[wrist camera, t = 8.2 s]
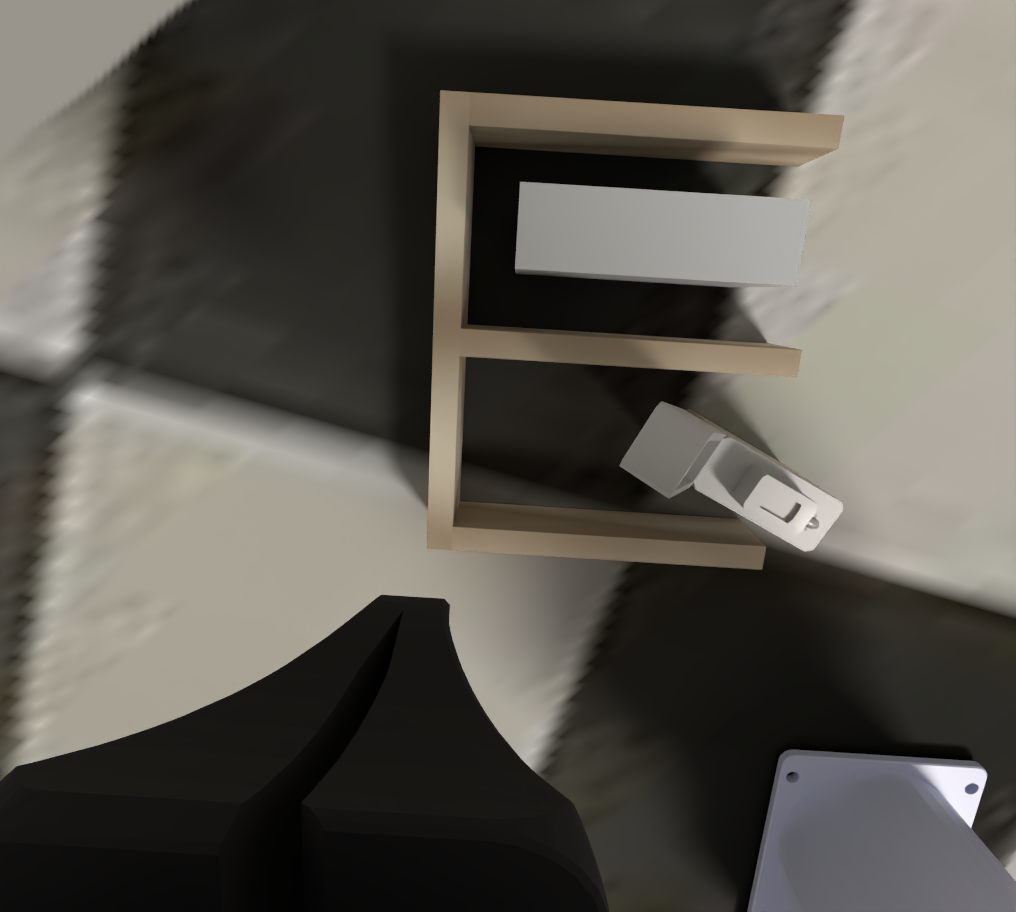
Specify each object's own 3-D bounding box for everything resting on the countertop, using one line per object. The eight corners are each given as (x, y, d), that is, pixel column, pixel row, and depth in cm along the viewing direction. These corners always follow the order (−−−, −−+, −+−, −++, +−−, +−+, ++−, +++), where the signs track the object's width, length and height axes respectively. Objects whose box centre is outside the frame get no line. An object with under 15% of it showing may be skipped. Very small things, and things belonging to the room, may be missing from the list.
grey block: (730, 287, 20) (796, 286, 15) (515, 273, 20) (514, 268, 15) (739, 222, 20) (811, 199, 15) (519, 208, 20) (520, 181, 15)
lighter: (784, 464, 22) (932, 561, 14) (754, 505, 22) (882, 620, 14) (611, 362, 21) (665, 405, 13) (584, 407, 21) (621, 473, 13)
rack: (736, 539, 22) (762, 569, 20) (436, 520, 22) (426, 548, 20) (802, 138, 19) (844, 115, 16) (450, 116, 19) (440, 90, 16)
